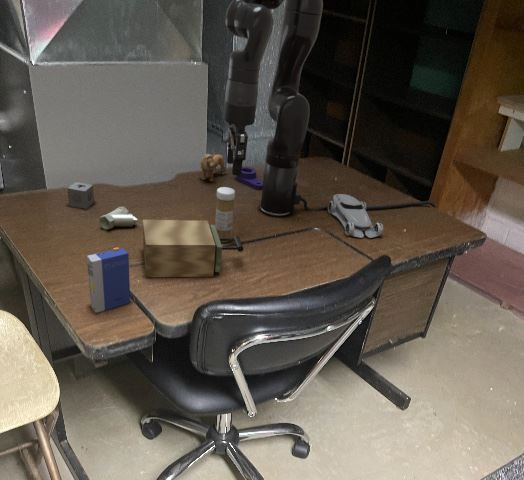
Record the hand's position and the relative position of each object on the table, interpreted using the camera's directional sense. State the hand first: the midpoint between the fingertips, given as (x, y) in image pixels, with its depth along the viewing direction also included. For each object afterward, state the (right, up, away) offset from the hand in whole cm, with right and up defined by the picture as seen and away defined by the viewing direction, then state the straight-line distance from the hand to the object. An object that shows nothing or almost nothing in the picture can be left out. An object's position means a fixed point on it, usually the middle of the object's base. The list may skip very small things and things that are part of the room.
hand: (233, 168), depth 141 cm
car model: (+34, -7, +26) cm, 43 cm away
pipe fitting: (-30, -13, +5) cm, 33 cm away
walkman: (-24, -36, -24) cm, 50 cm away
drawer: (-8, -24, -6) cm, 26 cm away
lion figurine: (-9, +10, +41) cm, 43 cm away
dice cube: (-43, -5, +14) cm, 45 cm away
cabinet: (-13, -25, -7) cm, 29 cm away
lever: (+3, +9, +42) cm, 43 cm away
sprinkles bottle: (-3, -17, +6) cm, 18 cm away
